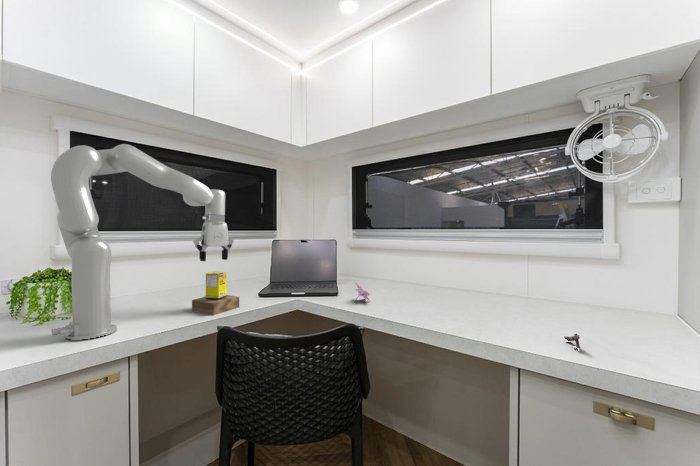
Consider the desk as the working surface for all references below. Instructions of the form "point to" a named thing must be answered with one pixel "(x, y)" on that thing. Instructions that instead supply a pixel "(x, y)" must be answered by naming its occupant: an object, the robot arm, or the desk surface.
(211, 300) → the walnut block
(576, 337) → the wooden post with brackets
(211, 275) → the supplement box
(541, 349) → the desk surface
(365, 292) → the lily
